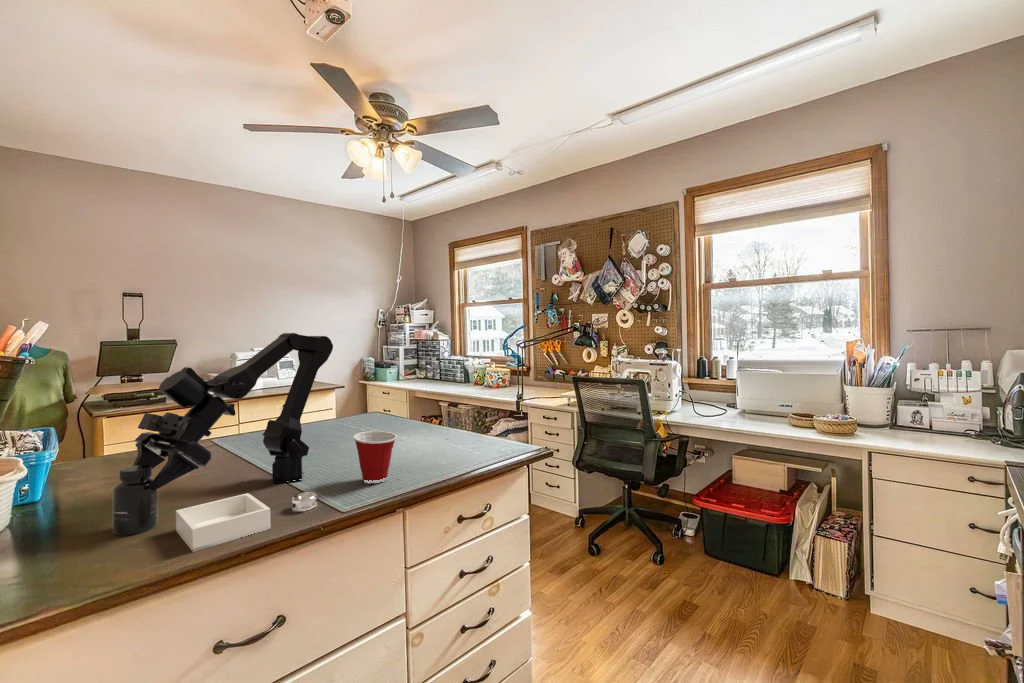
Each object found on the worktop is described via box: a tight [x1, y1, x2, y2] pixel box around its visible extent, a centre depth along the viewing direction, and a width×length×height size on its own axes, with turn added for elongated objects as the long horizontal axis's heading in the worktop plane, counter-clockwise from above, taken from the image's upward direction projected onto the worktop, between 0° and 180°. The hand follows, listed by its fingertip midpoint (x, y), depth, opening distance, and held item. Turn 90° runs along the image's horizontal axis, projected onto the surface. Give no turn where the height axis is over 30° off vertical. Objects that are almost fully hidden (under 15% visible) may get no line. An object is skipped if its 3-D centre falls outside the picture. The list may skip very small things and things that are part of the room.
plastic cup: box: [353, 430, 398, 481], centre depth 116 cm, size 11×11×12 cm
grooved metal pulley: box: [291, 491, 318, 512], centre depth 98 cm, size 5×3×5 cm
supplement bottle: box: [112, 465, 159, 537], centre depth 87 cm, size 7×7×12 cm
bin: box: [175, 493, 272, 553], centre depth 87 cm, size 13×13×4 cm
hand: (138, 485), depth 88 cm, fingers open, 9 cm apart
